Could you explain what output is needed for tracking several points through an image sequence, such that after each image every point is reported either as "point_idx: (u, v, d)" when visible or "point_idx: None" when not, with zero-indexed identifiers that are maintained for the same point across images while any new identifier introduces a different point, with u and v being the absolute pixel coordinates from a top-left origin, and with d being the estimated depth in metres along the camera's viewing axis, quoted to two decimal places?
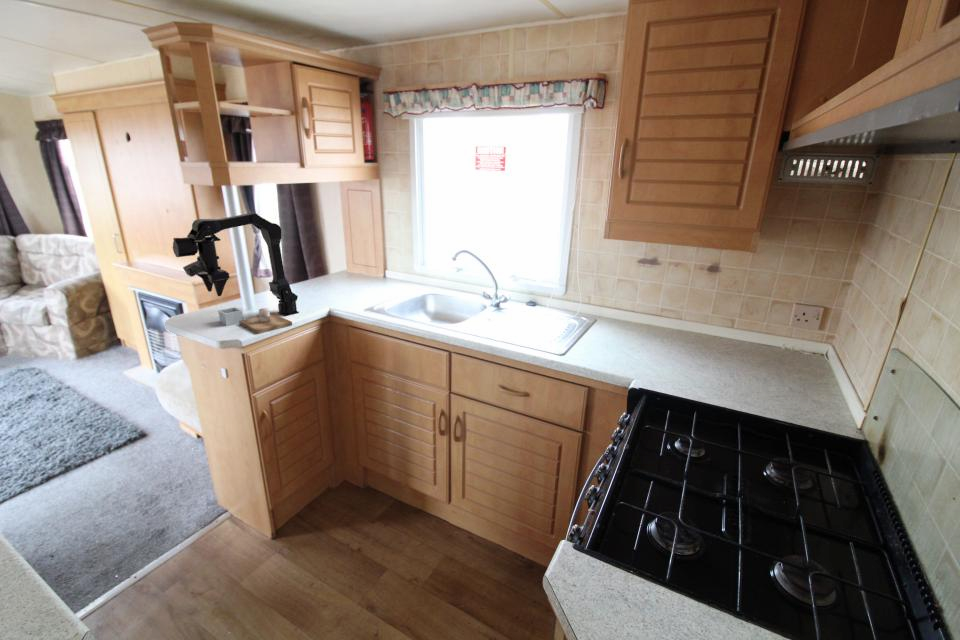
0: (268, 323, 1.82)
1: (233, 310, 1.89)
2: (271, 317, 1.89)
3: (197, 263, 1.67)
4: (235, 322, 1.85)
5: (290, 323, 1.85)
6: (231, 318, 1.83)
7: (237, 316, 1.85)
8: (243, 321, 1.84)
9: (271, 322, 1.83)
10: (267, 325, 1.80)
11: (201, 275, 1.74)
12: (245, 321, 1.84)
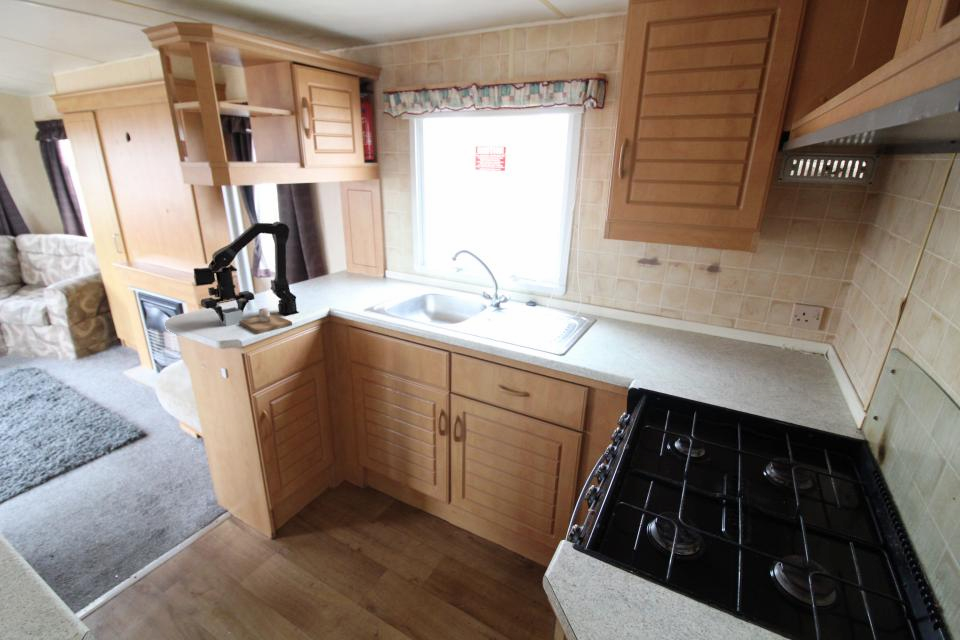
0: (268, 323, 1.82)
1: (233, 310, 1.89)
2: (271, 317, 1.89)
3: None
4: (235, 322, 1.85)
5: (290, 323, 1.85)
6: (231, 318, 1.83)
7: (237, 316, 1.85)
8: (243, 321, 1.84)
9: (271, 322, 1.83)
10: (267, 325, 1.80)
11: (237, 301, 1.89)
12: (245, 321, 1.84)
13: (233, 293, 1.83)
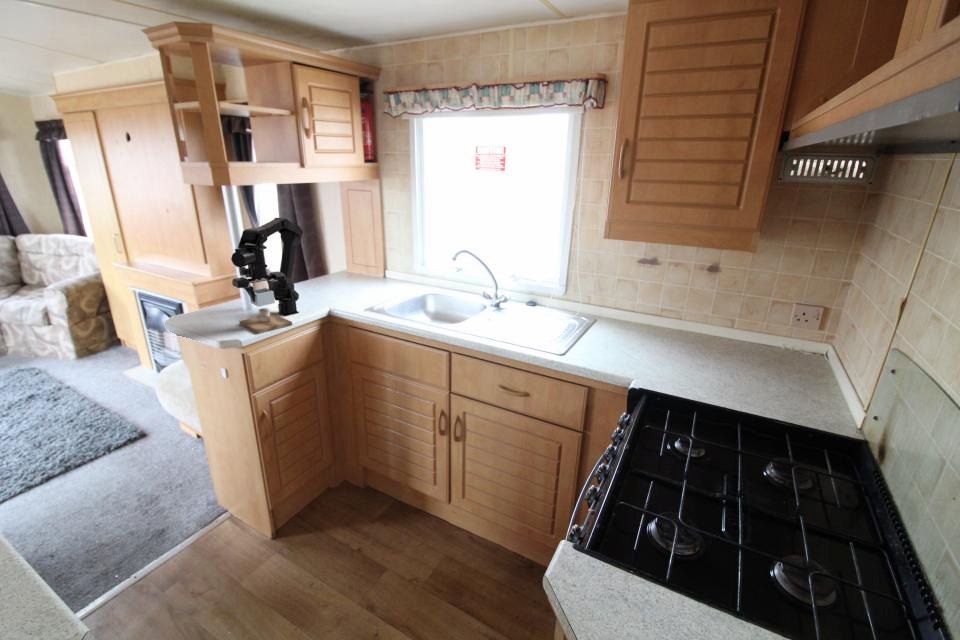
0: (268, 323, 1.82)
1: (264, 291, 1.84)
2: (271, 317, 1.89)
3: None
4: (266, 303, 1.80)
5: (290, 323, 1.85)
6: (263, 299, 1.78)
7: (268, 297, 1.80)
8: (243, 321, 1.84)
9: (271, 322, 1.83)
10: (267, 325, 1.80)
11: (268, 281, 1.83)
12: (245, 321, 1.84)
13: (265, 273, 1.78)
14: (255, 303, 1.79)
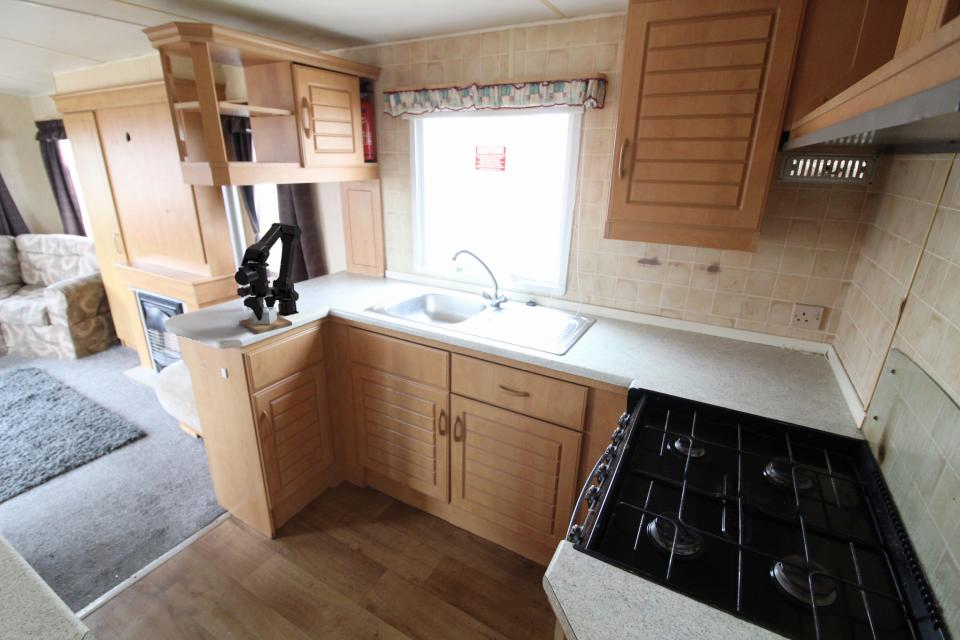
0: None
1: None
2: None
3: (248, 286, 1.79)
4: (273, 320, 1.84)
5: (290, 323, 1.85)
6: (271, 316, 1.83)
7: (274, 313, 1.85)
8: (243, 321, 1.84)
9: None
10: (267, 325, 1.80)
11: None
12: (245, 321, 1.84)
13: (268, 289, 1.82)
14: (264, 322, 1.81)
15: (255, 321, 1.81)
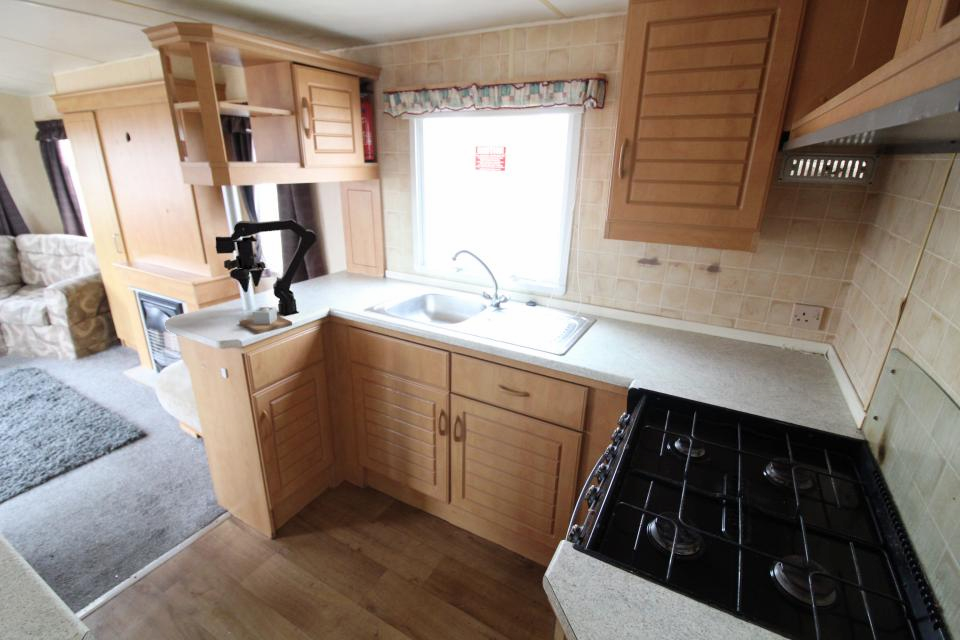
0: None
1: None
2: None
3: None
4: (273, 320, 1.84)
5: (290, 323, 1.85)
6: (271, 316, 1.83)
7: (274, 313, 1.85)
8: (243, 321, 1.84)
9: None
10: (267, 325, 1.80)
11: (250, 270, 1.94)
12: (245, 321, 1.84)
13: (254, 262, 1.89)
14: (264, 322, 1.81)
15: (255, 321, 1.81)
